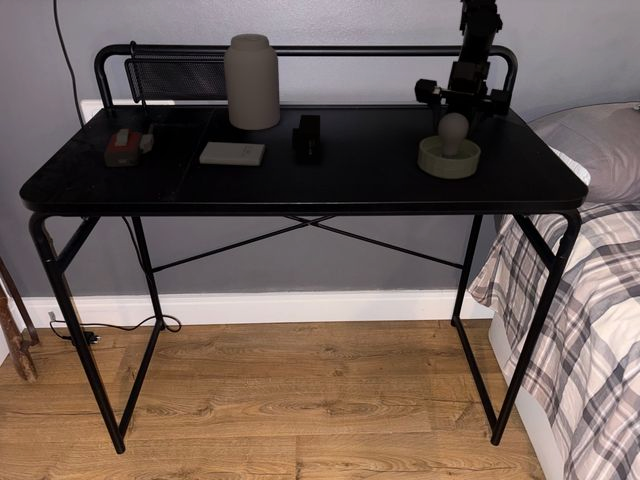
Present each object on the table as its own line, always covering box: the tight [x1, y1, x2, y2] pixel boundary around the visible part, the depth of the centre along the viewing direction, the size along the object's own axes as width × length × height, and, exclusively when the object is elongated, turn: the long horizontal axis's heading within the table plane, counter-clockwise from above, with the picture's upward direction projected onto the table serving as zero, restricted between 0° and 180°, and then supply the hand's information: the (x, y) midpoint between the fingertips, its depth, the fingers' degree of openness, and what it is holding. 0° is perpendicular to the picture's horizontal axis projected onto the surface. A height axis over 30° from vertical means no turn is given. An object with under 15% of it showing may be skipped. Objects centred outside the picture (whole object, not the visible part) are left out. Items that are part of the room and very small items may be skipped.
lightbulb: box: [437, 113, 469, 159], centre depth 102 cm, size 6×6×11 cm
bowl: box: [416, 135, 482, 180], centre depth 104 cm, size 12×12×4 cm
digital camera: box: [291, 114, 321, 165], centre depth 108 cm, size 10×5×7 cm, turn 178°
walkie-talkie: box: [103, 123, 155, 168], centre depth 109 cm, size 9×4×20 cm
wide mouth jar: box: [223, 33, 281, 131], centre depth 119 cm, size 12×12×20 cm
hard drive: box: [199, 141, 266, 167], centre depth 107 cm, size 2×8×12 cm
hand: (450, 135), depth 100 cm, fingers open, 6 cm apart
